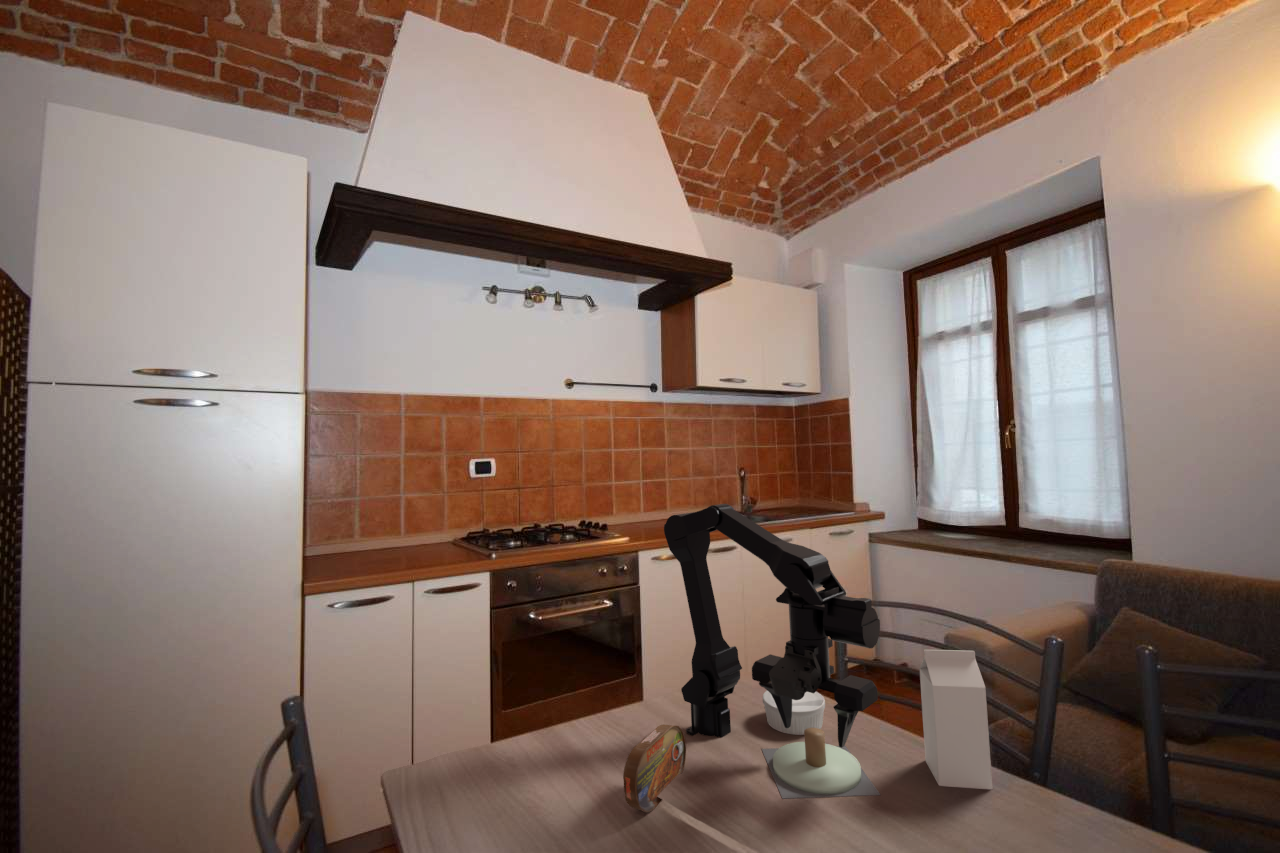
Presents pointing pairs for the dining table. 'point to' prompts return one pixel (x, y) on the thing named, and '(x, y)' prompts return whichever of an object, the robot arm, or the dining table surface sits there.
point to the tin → (653, 766)
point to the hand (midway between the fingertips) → (813, 736)
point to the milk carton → (955, 719)
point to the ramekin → (796, 713)
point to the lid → (816, 765)
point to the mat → (791, 793)
